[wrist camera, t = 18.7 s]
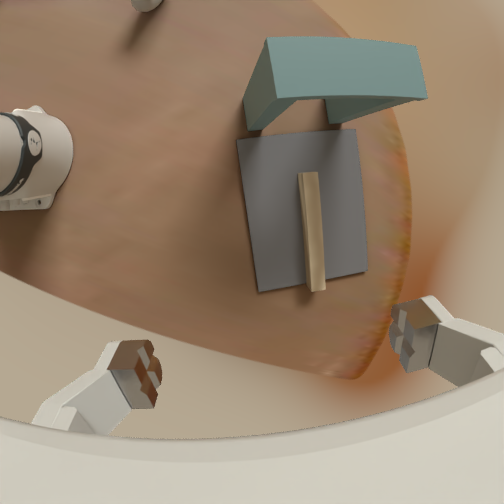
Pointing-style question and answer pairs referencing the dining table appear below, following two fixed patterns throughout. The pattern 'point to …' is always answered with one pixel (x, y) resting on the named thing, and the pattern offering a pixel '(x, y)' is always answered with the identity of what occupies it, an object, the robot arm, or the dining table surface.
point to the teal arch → (332, 77)
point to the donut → (145, 4)
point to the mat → (289, 207)
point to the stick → (312, 230)
